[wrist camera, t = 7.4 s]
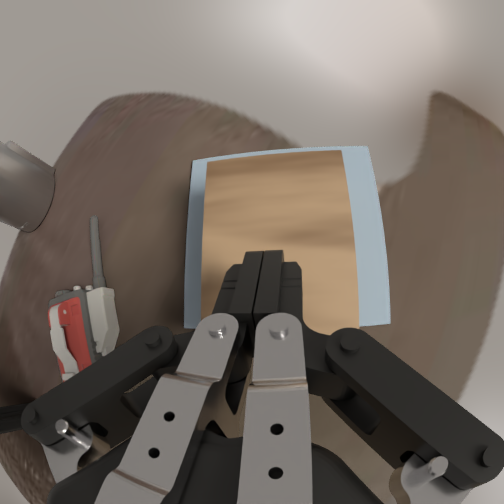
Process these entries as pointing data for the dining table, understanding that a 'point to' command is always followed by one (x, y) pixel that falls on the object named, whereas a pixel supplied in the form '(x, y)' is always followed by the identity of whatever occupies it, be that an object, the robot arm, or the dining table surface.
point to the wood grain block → (284, 228)
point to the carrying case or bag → (11, 418)
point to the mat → (364, 225)
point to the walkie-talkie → (84, 318)
